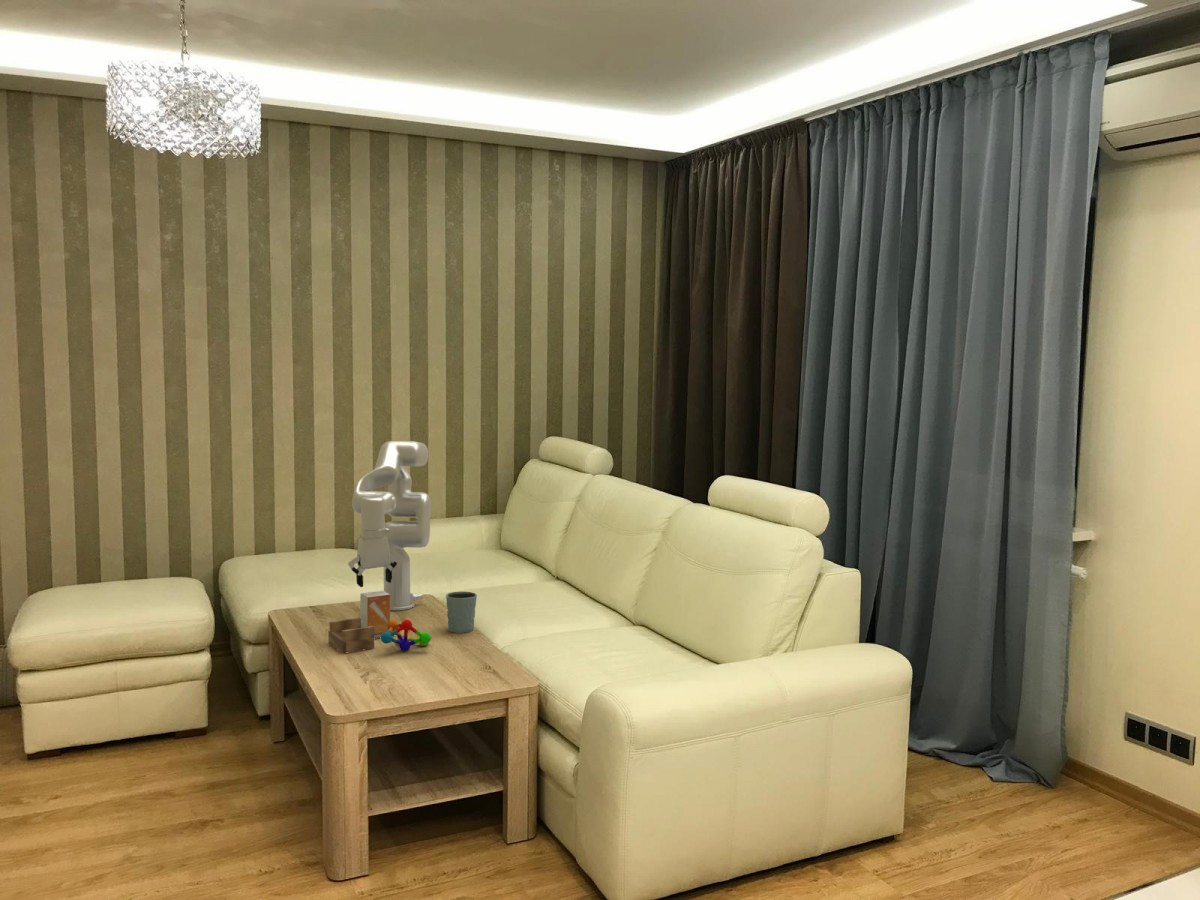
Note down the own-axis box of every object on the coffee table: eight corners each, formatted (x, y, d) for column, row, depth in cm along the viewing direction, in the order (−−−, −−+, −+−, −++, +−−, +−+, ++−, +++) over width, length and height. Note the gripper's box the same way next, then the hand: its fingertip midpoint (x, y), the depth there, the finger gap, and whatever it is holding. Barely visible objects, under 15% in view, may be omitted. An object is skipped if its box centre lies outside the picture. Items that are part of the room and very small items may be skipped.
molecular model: (387, 654, 329) (378, 646, 315) (389, 624, 332) (381, 615, 318) (434, 655, 329) (428, 647, 315) (436, 625, 332) (430, 616, 318)
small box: (367, 636, 335) (366, 597, 333) (360, 631, 340) (359, 593, 339) (390, 632, 339) (390, 594, 338) (383, 628, 345) (382, 590, 343)
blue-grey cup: (440, 630, 344) (440, 595, 343) (458, 623, 353) (457, 589, 352) (465, 635, 340) (465, 599, 338) (482, 627, 348) (482, 593, 347)
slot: (359, 638, 334) (359, 617, 334) (374, 648, 324) (374, 626, 323) (328, 643, 329) (328, 621, 328) (342, 653, 318) (342, 631, 317)
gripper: (393, 528, 344) (394, 577, 347) (343, 534, 335) (345, 585, 337) (402, 532, 338) (403, 582, 341) (351, 539, 329) (353, 590, 331)
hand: (374, 584), depth 339 cm, fingers open, 9 cm apart
